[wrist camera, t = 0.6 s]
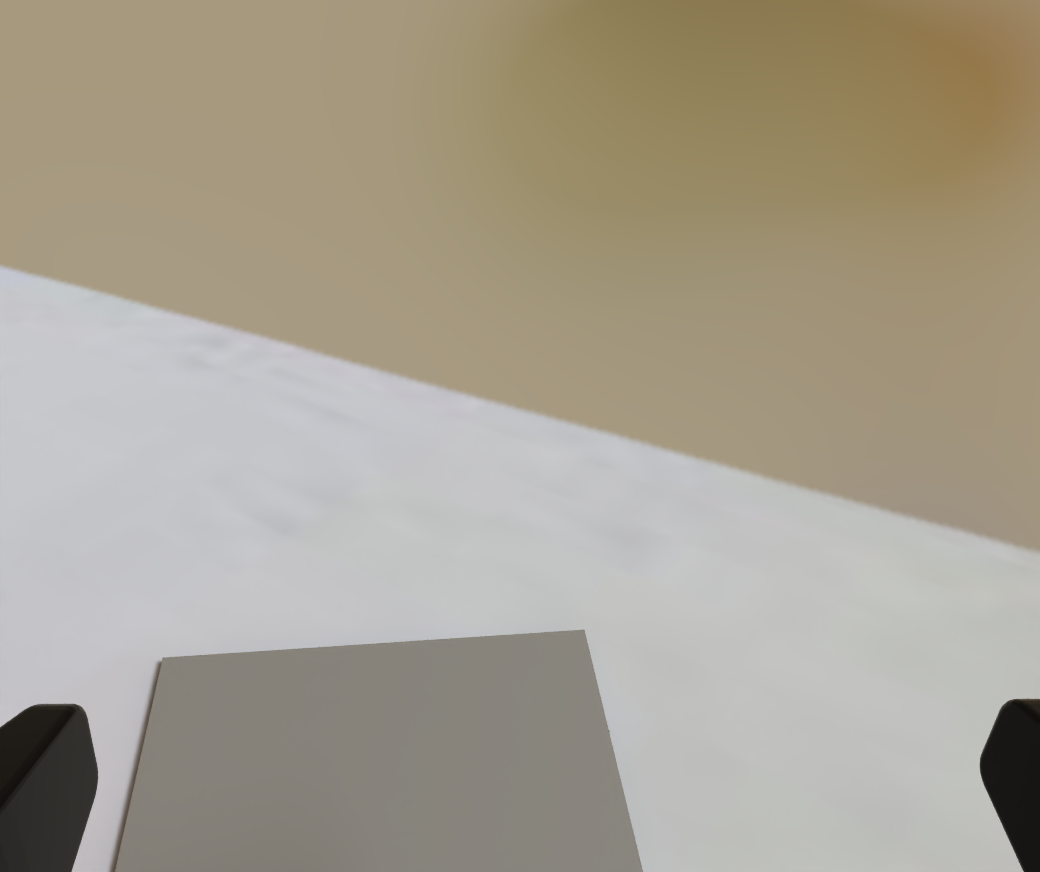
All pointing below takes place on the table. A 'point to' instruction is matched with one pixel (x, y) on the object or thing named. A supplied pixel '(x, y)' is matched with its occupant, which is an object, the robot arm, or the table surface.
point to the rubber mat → (381, 761)
